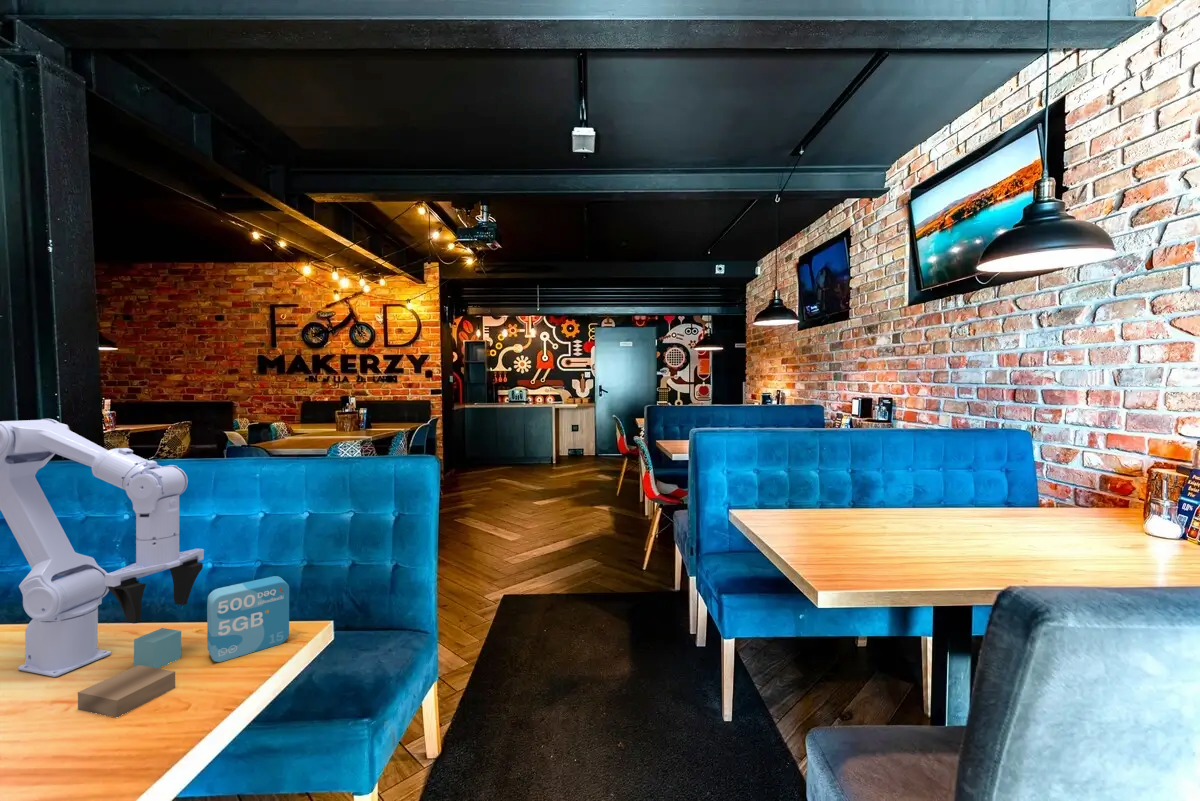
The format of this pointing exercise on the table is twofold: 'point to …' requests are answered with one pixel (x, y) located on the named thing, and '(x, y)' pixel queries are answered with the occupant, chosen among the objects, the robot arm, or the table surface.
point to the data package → (247, 618)
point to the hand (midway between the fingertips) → (158, 612)
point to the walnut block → (126, 691)
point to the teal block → (157, 648)
